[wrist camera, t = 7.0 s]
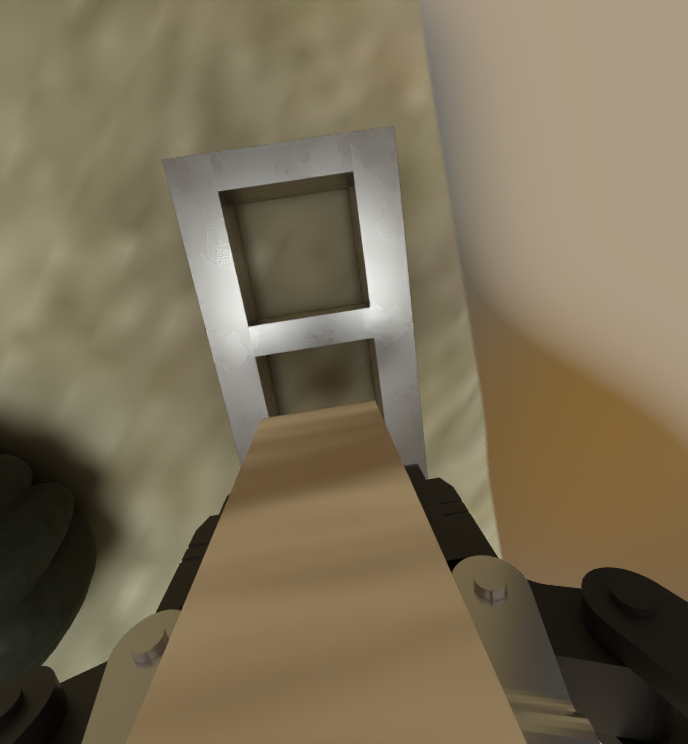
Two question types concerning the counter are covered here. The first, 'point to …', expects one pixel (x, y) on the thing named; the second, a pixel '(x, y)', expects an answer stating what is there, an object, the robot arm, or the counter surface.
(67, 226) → the counter surface
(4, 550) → the squash
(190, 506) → the counter surface
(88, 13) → the counter surface
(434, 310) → the counter surface
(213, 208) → the gray slotted tray
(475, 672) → the square peg
